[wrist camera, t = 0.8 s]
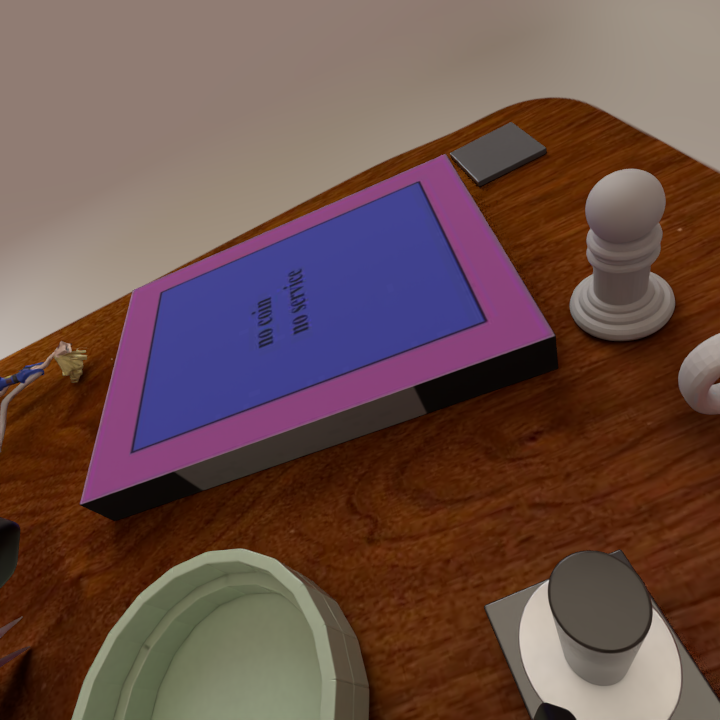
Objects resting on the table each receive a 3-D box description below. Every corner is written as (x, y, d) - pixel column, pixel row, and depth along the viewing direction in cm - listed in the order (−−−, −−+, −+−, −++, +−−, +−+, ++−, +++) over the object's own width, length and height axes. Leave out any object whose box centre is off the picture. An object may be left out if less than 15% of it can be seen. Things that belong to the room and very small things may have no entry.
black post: (707, 713, 16) (810, 686, 8) (569, 765, 16) (552, 783, 9) (615, 568, 19) (632, 457, 12) (502, 615, 19) (450, 536, 12)
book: (555, 335, 25) (79, 504, 30) (558, 368, 27) (114, 521, 32) (445, 153, 39) (132, 290, 44) (453, 185, 41) (154, 311, 46)
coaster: (546, 153, 39) (546, 147, 39) (479, 187, 40) (478, 182, 39) (512, 126, 43) (511, 121, 43) (450, 157, 44) (449, 152, 43)
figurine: (150, 430, 46) (-78, 505, 43) (134, 354, 50) (-78, 418, 46) (102, 390, 37) (-194, 482, 34) (87, 301, 41) (-183, 375, 37)
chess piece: (594, 357, 27) (595, 231, 20) (555, 295, 30) (546, 170, 24) (694, 324, 26) (730, 181, 19) (643, 264, 29) (658, 125, 23)
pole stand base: (726, 730, 17) (740, 729, 15) (564, 790, 17) (562, 795, 16) (618, 562, 21) (620, 548, 19) (490, 615, 21) (482, 605, 20)
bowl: (415, 850, 18) (375, 874, 14) (130, 956, 19) (32, 1001, 15) (338, 538, 26) (302, 508, 23) (144, 624, 27) (81, 607, 24)
